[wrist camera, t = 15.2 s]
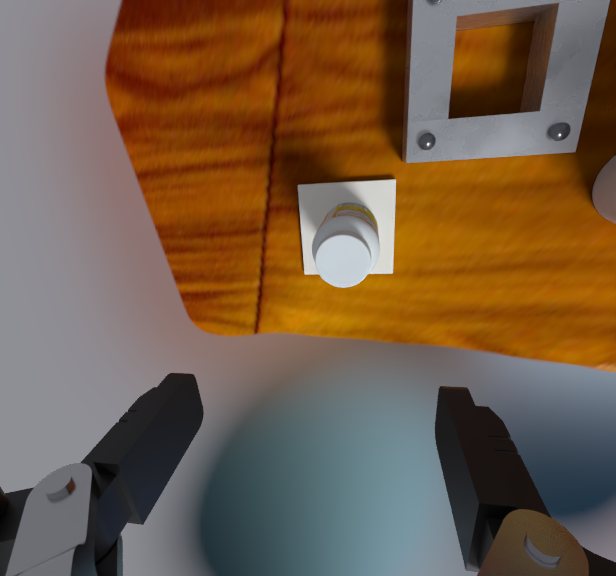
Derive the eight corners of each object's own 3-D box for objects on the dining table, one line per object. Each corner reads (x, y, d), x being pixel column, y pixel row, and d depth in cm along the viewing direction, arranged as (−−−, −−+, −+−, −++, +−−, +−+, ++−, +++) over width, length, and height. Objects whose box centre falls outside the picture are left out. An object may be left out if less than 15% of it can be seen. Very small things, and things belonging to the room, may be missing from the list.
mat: (395, 178, 30) (396, 179, 30) (392, 271, 34) (392, 273, 33) (298, 184, 32) (297, 185, 31) (305, 272, 35) (304, 274, 35)
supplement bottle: (359, 189, 30) (356, 208, 22) (388, 238, 32) (396, 273, 23) (311, 221, 32) (291, 249, 24) (340, 265, 34) (331, 308, 25)
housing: (588, -37, 23) (630, -71, 19) (551, 151, 27) (578, 152, 24) (408, -10, 25) (415, -36, 21) (401, 160, 29) (406, 163, 26)
